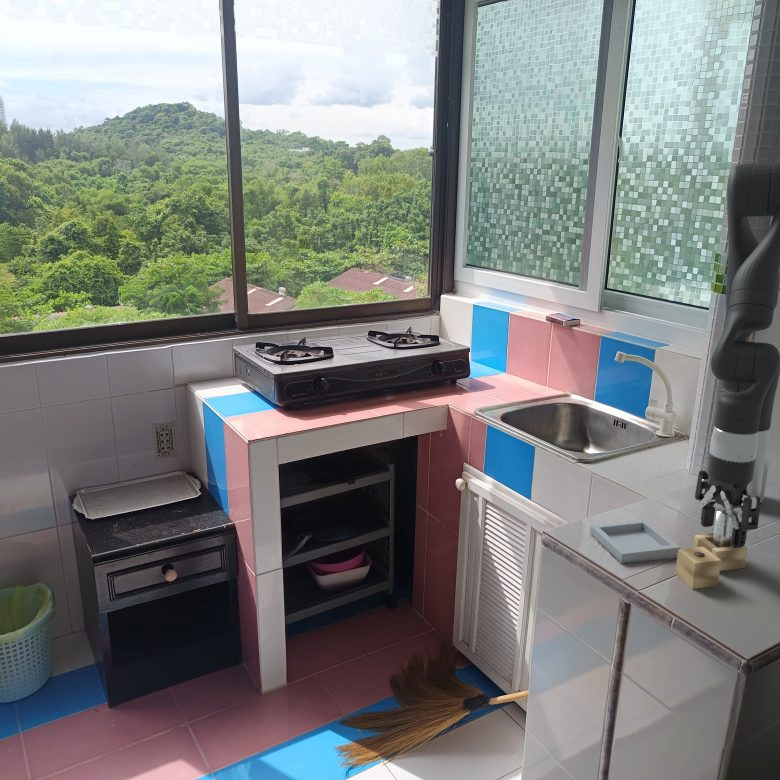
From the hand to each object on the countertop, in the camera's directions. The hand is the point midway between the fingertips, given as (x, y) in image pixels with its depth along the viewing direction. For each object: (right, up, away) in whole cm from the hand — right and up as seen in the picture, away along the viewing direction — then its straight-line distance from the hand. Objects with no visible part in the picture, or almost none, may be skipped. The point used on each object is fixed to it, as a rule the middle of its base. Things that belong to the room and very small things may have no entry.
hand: (721, 536), depth 135 cm
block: (-7, -7, -5) cm, 11 cm away
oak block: (0, -5, +1) cm, 5 cm away
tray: (-14, -3, +7) cm, 16 cm away
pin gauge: (0, -5, +1) cm, 5 cm away
